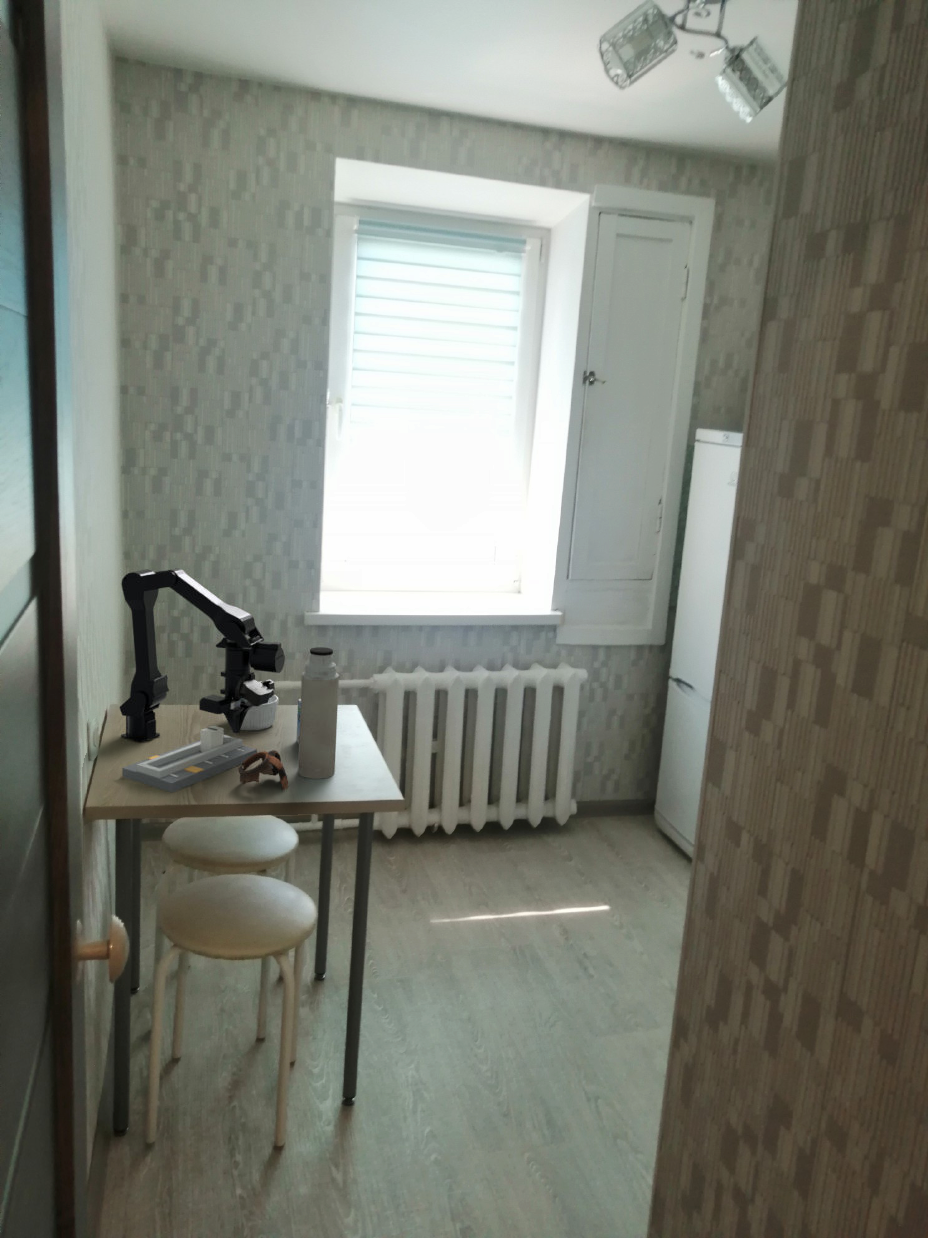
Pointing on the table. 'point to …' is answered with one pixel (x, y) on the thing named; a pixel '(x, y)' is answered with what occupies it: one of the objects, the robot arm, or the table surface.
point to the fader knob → (211, 738)
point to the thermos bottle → (318, 715)
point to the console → (188, 764)
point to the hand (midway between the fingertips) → (236, 733)
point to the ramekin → (261, 715)
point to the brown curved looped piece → (263, 767)
